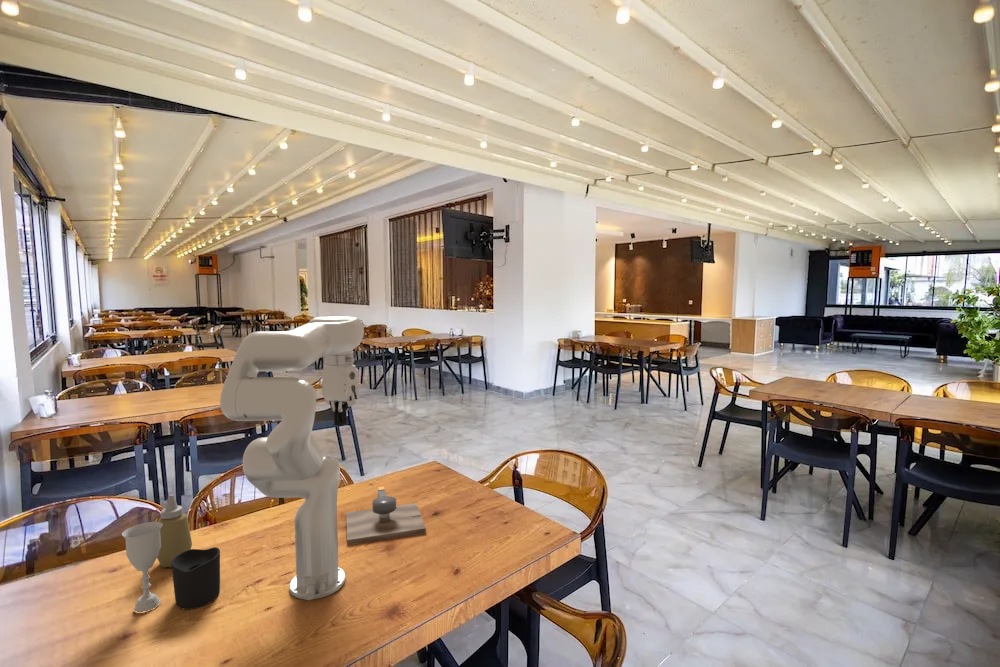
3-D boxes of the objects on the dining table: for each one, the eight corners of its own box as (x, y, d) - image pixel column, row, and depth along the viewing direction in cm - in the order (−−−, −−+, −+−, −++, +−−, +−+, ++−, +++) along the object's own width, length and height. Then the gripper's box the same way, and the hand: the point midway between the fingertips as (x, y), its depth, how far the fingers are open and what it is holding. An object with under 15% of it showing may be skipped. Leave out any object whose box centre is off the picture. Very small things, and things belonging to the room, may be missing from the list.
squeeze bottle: (198, 559, 128) (195, 493, 126) (164, 574, 121) (160, 504, 119) (183, 551, 132) (180, 486, 130) (149, 564, 125) (145, 497, 124)
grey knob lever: (391, 498, 159) (391, 484, 159) (397, 519, 145) (397, 504, 144) (370, 501, 157) (369, 487, 157) (373, 522, 142) (373, 507, 142)
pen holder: (208, 581, 118) (206, 542, 117) (230, 593, 113) (228, 552, 112) (165, 602, 110) (163, 560, 109) (187, 616, 105) (184, 572, 104)
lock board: (425, 533, 142) (425, 517, 142) (347, 545, 135) (346, 528, 135) (416, 507, 159) (416, 493, 159) (346, 517, 152) (346, 502, 152)
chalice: (161, 592, 113) (157, 518, 112) (171, 604, 109) (167, 527, 108) (122, 608, 108) (117, 530, 106) (131, 621, 103) (126, 540, 102)
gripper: (368, 360, 135) (370, 424, 137) (329, 357, 142) (331, 418, 144) (349, 363, 129) (350, 431, 130) (309, 360, 135) (311, 424, 137)
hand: (340, 424), depth 137 cm, fingers closed
